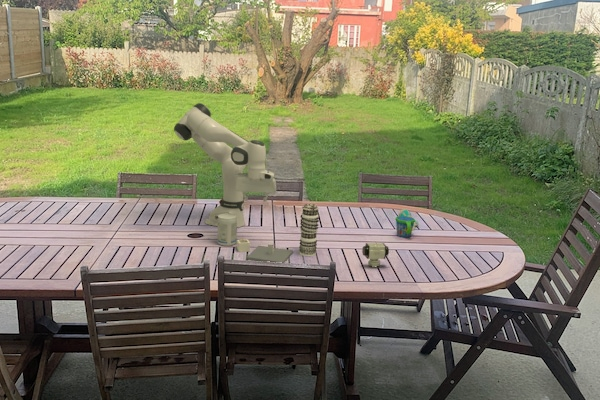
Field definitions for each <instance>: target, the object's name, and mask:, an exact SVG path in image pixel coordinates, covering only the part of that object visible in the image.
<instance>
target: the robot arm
mask: <svg viewBox="0 0 600 400" xmlns="http://www.w3.org/2000/svg"><path fill="white" fill-rule="evenodd" d="M211 116H212V113H211V111H210V109H209V108H208V107H207V106H206V105H205V104H203V103H202V102H201V103H200V102H198V103H196V104H195V105H193V107H192V108H190V109H189V110H188V111H187V112H186V113H184V115H183V116H182V117H181V118H180V119H179V121H178V122H176V124H175V125H174V126H173V127H174V128H173V132H174V133H175V135H176V136H177V138H178V139H181V140H183V141H189V140H190V139H192V140H193V141H194V142H195V144H196V145H197V146H198V147H199V148H201V150H202V151H203V152H204V153H206V155H208V156H209V157H210V158H211V159H213V160H214V161H216V162H218V163H220V164H221V172H222V173H221V174H222V175H221V176H222V183H223V197H222V198H221V199H220V200H219V201H218V204H219V205H218V206H216V207H215V208H214V209H212V210H211V211H210V213H209V217H208V218H206V219H204V220H205V221H204V224H205V225H210V226H213V227H218V215H220V214H224V213H231V214H235V215H236V218H237V228H241V227H244V226H245V225H246V221H245V217H244V209H245V201H247V202H248V199H249V196H247V195H246V193H259V194H260V193H261V194H265V197H263V203H264V202H265V203H266V202H267V201H268V200H267V199H268V197H269V196H270V194H275V193H276V192H277V181H276V179H275V178H274V177H275V173H274V172H273V171H269V170H267V169H266V161H267V150H266V144H265V143H264V142H262V140H261V141H260V140H256V139H254V140H250V141H248V140H247V139H246V138H244V137H243V136H241V135H240V134H237V133H236V132H234V131H233V130H231V129H229V128H227V127H225V126H224V125H222V124H220V123H219V122H217V121H216V120H215V119H213V118H212V117H211ZM232 146H233V148H232ZM246 166H247V169H246ZM245 169H246V170H247V172H244V171H245Z"/></svg>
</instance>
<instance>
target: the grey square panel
mask: <svg viewBox="0 0 600 400" xmlns="http://www.w3.org/2000/svg"><path fill="white" fill-rule="evenodd" d="M293 253H294V250H293V249H292V250H291V249H285V248H278V247H274V243H273V242H269V243H268V244H267V246H264V245H257V246H256V247H255V248H254V249H253V250H252V251H250V253H249V254H248V255H247V256H246V260H247V259H248V261H253V260H254V261H255V262H260V261H270V262H282V263H284V262H285V261H286V262H287V260H289V258H290V257H291V256H292V255H293ZM286 262H285V263H286ZM285 263H284V264H285Z"/></svg>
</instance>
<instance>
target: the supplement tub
mask: <svg viewBox="0 0 600 400" xmlns="http://www.w3.org/2000/svg"><path fill="white" fill-rule="evenodd" d="M237 228H238V227H237V218H236V215H235V214H231V213H224V214H220V215H218V226H217V243H218V244H219V245H220V246H224V247H226V246H227V247H229V246H231V247H232V246H234V245H235V244H237V235H238V234H237V230H238V229H237Z"/></svg>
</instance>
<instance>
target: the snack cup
mask: <svg viewBox="0 0 600 400" xmlns="http://www.w3.org/2000/svg"><path fill="white" fill-rule="evenodd" d="M415 220H416V219H415V218H414V217H412V216H411V217H408V216H399V215H398V216H396V217H395V222H396V223H395V224H396V225H395V226H396V235H397V236H398V237H401V238H410V237H411V235H412V228H413V224H414V222H415Z"/></svg>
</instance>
